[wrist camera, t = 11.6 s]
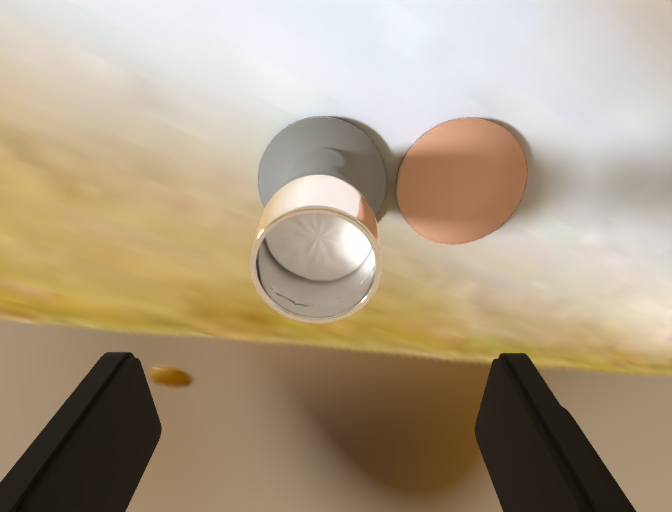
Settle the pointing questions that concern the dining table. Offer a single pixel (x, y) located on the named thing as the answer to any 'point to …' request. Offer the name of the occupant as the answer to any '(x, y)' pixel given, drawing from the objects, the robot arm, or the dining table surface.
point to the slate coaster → (323, 135)
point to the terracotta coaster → (461, 180)
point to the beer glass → (317, 242)
